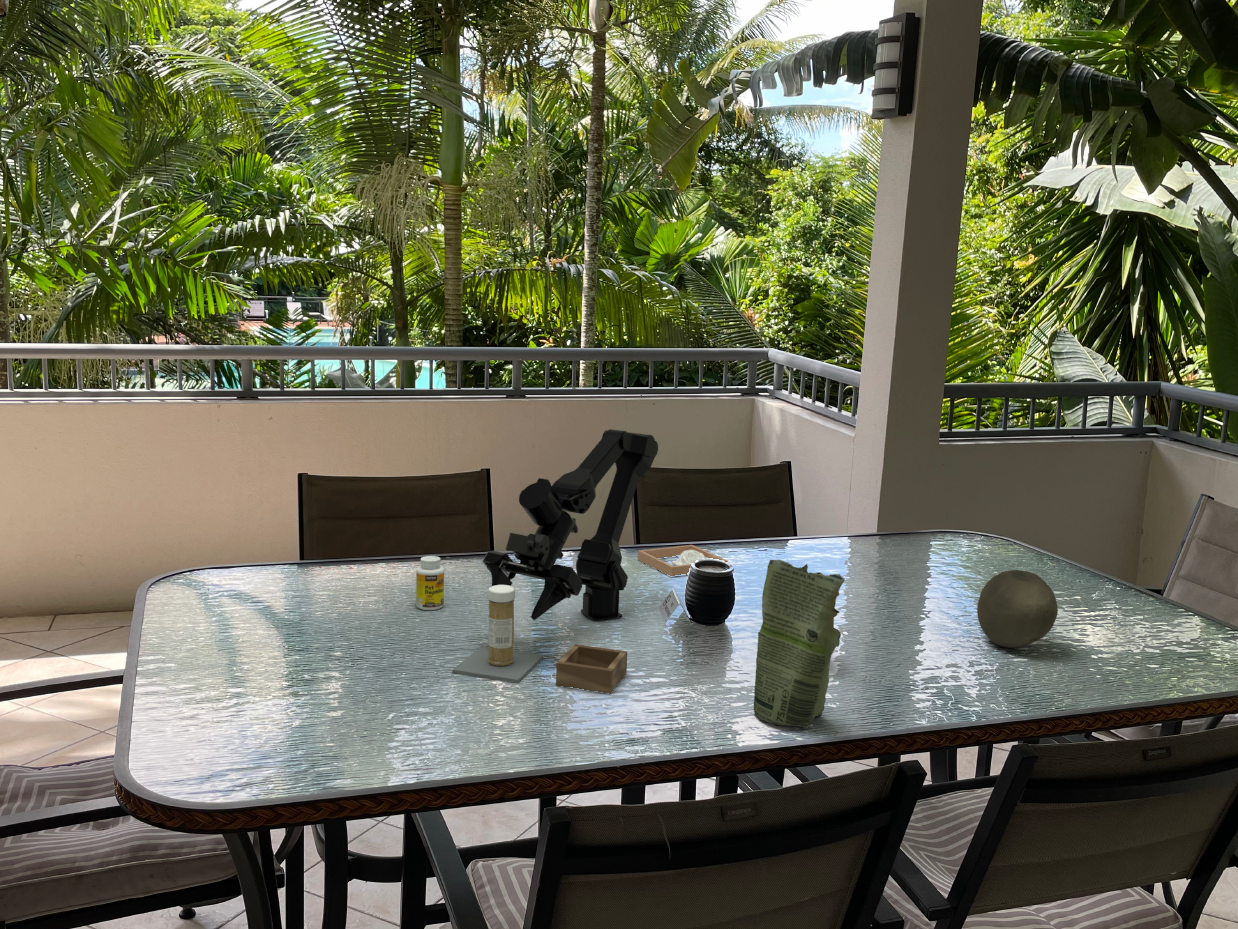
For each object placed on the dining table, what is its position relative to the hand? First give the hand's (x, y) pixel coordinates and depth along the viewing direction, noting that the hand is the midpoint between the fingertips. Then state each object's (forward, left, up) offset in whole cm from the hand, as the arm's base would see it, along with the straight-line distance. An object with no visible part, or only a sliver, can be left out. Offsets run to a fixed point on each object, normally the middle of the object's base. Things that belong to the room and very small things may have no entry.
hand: (511, 613), depth 174 cm
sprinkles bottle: (+3, +2, -8) cm, 9 cm away
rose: (-63, -38, -9) cm, 74 cm away
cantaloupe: (-91, +32, -9) cm, 97 cm away
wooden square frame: (-61, -40, -9) cm, 74 cm away
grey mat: (+3, +2, -9) cm, 9 cm away
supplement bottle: (+4, -33, -9) cm, 35 cm away
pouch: (-31, +40, -9) cm, 51 cm away
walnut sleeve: (-9, +14, -9) cm, 19 cm away
